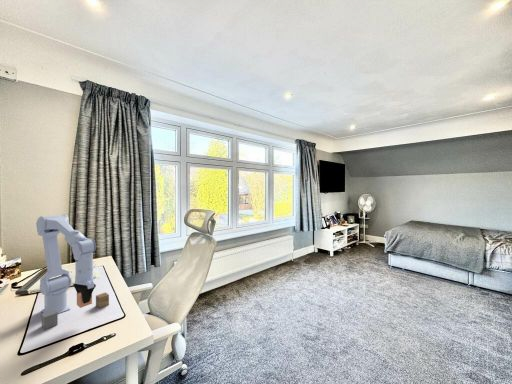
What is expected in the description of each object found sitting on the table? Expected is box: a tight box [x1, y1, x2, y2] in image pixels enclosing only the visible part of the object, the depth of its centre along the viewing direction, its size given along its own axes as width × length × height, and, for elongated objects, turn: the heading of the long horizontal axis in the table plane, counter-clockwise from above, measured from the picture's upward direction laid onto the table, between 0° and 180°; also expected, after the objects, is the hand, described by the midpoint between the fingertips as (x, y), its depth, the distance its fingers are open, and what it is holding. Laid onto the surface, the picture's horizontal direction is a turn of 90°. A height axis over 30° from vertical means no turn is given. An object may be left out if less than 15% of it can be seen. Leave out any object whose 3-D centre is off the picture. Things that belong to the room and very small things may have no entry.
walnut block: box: [95, 292, 110, 309], centre depth 106 cm, size 4×4×5 cm
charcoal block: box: [41, 310, 59, 331], centre depth 90 cm, size 4×4×5 cm
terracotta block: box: [76, 292, 93, 309], centre depth 92 cm, size 4×4×5 cm
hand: (84, 300), depth 92 cm, fingers closed on terracotta block, 4 cm apart
